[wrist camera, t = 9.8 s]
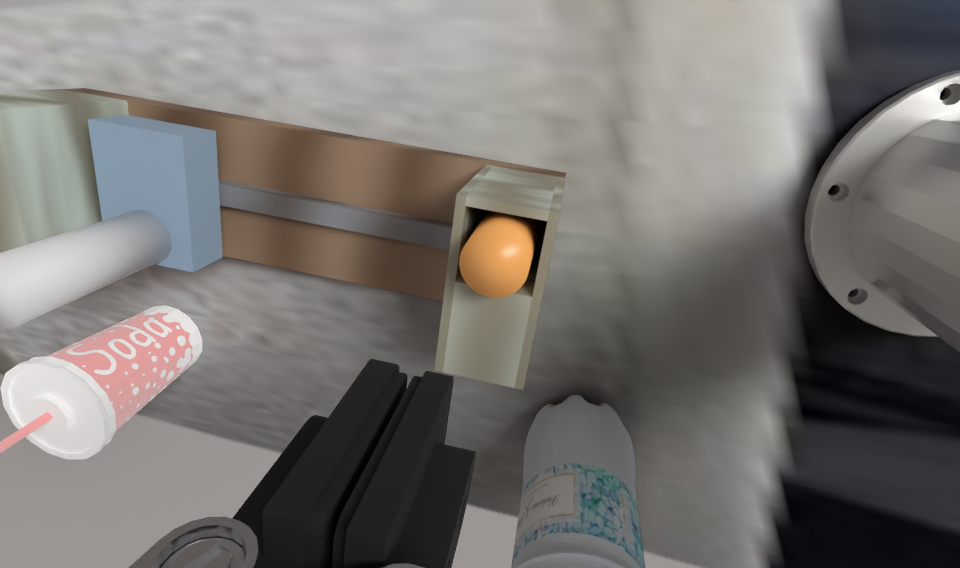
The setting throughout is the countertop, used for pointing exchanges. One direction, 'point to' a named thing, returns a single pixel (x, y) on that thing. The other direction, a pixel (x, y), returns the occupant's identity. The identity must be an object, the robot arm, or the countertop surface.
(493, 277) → the button
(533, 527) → the bottle
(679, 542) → the countertop surface
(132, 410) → the beverage cup
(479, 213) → the rail stand
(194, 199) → the carriage
